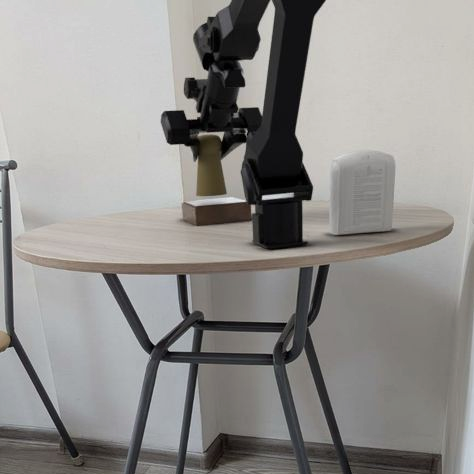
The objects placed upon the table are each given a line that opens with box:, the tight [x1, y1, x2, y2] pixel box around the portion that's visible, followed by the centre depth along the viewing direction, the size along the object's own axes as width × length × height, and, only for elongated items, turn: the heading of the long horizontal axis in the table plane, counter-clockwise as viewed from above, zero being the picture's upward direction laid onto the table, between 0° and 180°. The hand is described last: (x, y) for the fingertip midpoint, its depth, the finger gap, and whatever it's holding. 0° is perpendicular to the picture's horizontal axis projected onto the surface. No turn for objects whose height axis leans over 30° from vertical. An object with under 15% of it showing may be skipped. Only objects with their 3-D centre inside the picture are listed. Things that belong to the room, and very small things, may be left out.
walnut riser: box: [181, 196, 252, 226], centre depth 114 cm, size 11×10×4 cm
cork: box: [195, 133, 228, 197], centre depth 112 cm, size 6×6×11 cm
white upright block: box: [329, 150, 396, 236], centre depth 91 cm, size 10×4×12 cm, turn 104°
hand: (207, 159), depth 113 cm, fingers closed on cork, 5 cm apart
